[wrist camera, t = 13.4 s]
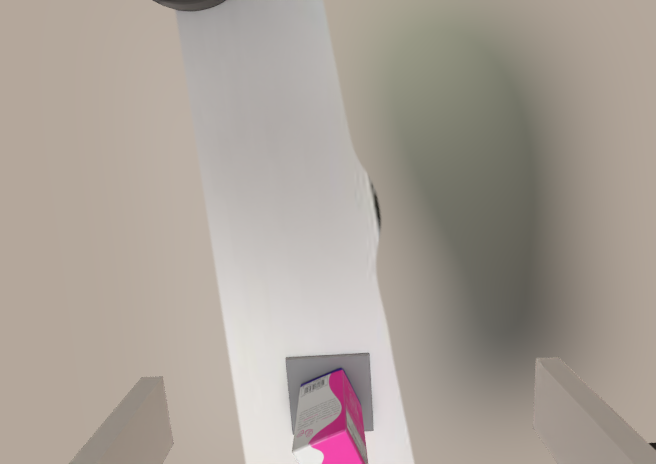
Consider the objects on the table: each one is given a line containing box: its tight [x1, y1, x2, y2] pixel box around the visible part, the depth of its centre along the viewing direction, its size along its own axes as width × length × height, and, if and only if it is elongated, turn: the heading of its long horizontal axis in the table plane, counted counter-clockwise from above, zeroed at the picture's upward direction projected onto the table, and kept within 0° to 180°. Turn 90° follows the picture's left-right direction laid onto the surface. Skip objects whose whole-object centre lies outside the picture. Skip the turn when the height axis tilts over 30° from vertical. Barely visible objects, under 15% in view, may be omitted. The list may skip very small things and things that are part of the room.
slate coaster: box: [286, 353, 373, 435], centre depth 50 cm, size 10×10×1 cm
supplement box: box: [292, 368, 368, 464], centre depth 45 cm, size 6×6×12 cm
